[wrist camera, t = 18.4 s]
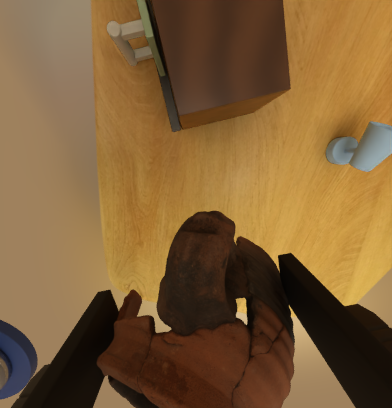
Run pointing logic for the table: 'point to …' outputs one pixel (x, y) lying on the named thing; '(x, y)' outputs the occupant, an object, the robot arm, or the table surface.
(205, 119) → the cupboard
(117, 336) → the broken clay pot
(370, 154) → the spotlight
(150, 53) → the sliding door
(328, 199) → the table surface
